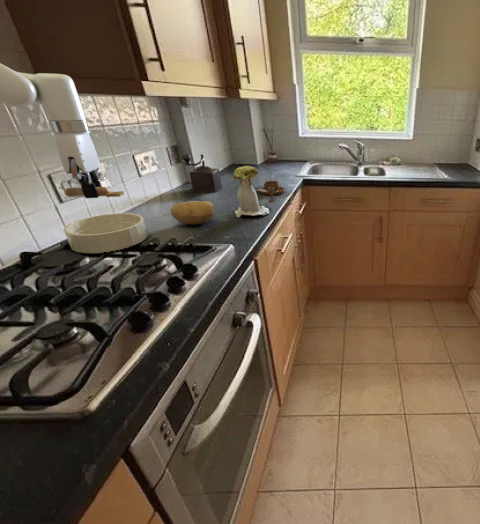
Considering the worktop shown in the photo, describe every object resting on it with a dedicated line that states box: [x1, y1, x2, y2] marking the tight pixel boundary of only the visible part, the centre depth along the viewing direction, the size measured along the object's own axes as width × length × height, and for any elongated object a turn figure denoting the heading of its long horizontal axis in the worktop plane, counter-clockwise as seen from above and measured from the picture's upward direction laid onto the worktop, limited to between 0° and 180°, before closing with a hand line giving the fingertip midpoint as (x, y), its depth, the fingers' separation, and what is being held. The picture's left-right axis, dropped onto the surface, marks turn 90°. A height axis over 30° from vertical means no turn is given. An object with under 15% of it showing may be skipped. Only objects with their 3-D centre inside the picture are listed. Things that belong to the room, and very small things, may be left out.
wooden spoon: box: [64, 186, 125, 198], centre depth 94 cm, size 14×3×3 cm, turn 105°
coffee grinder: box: [180, 153, 223, 194], centre depth 153 cm, size 16×11×18 cm
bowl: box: [63, 212, 149, 254], centre depth 102 cm, size 19×19×6 cm
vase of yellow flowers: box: [232, 165, 270, 218], centre depth 126 cm, size 12×13×18 cm
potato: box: [170, 200, 215, 226], centre depth 117 cm, size 10×14×8 cm
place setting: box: [255, 180, 293, 203], centre depth 154 cm, size 18×20×6 cm
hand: (94, 195), depth 95 cm, fingers closed on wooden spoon, 2 cm apart
